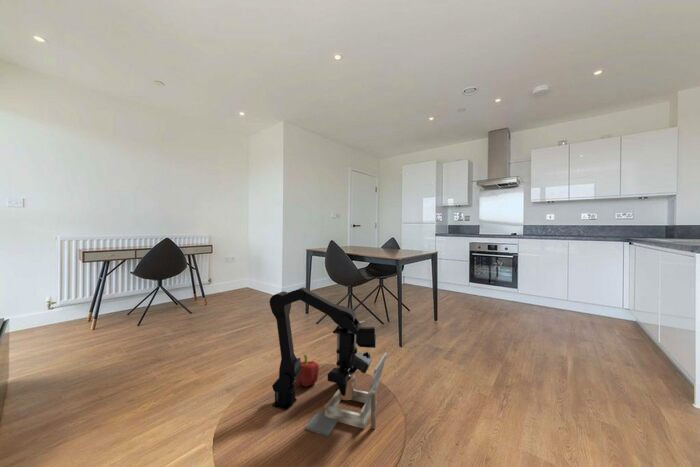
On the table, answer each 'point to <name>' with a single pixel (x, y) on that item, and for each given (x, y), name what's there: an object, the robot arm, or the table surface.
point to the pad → (321, 424)
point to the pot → (349, 388)
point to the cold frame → (359, 396)
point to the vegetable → (308, 373)
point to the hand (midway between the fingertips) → (346, 391)
